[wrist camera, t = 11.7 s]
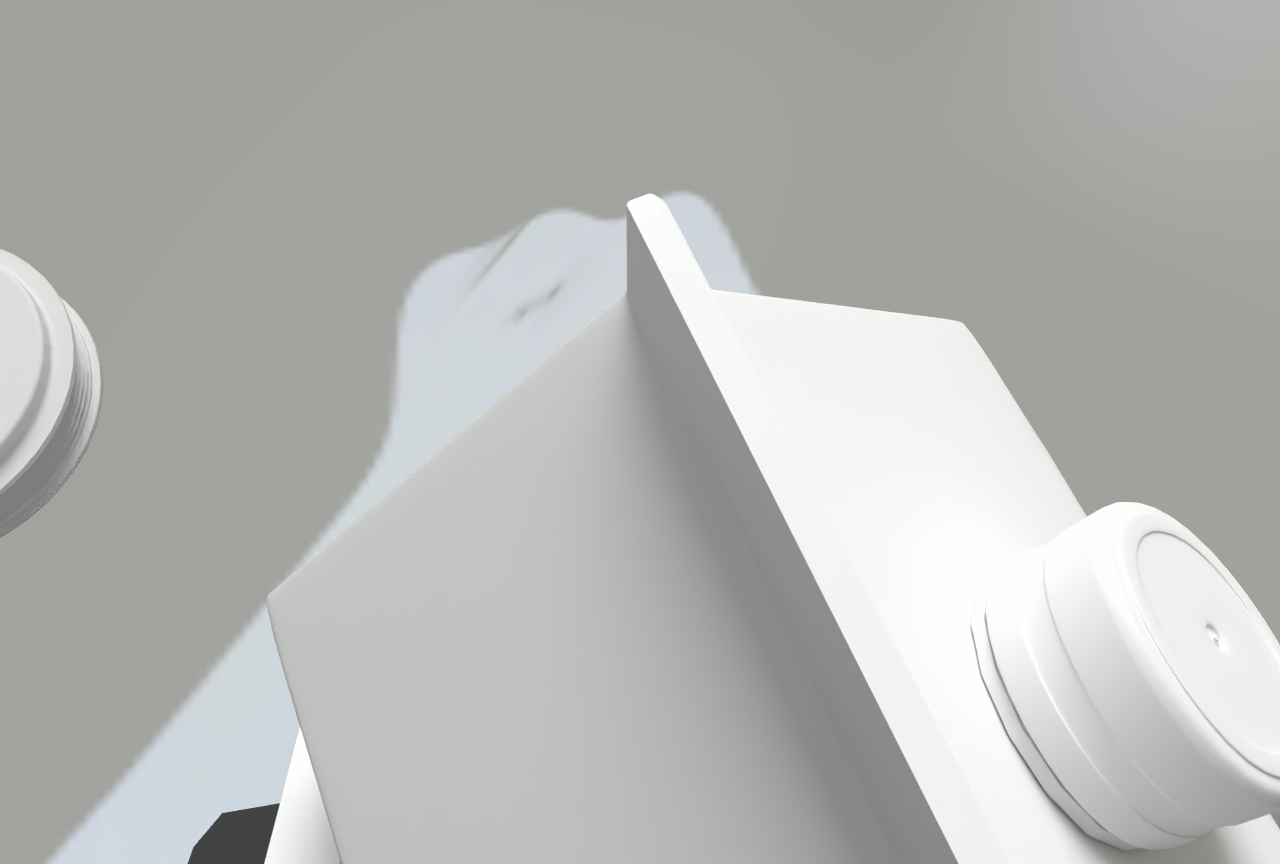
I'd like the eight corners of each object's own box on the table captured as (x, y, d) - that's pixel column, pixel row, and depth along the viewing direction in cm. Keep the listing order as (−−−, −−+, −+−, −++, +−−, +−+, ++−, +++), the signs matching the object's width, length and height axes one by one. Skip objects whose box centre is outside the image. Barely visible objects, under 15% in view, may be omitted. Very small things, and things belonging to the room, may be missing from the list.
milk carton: (606, 1152, 21) (483, 2338, 3) (477, 786, 23) (31, 404, 6) (940, 985, 22) (2118, 1242, 5) (781, 653, 25) (1149, 13, 7)
